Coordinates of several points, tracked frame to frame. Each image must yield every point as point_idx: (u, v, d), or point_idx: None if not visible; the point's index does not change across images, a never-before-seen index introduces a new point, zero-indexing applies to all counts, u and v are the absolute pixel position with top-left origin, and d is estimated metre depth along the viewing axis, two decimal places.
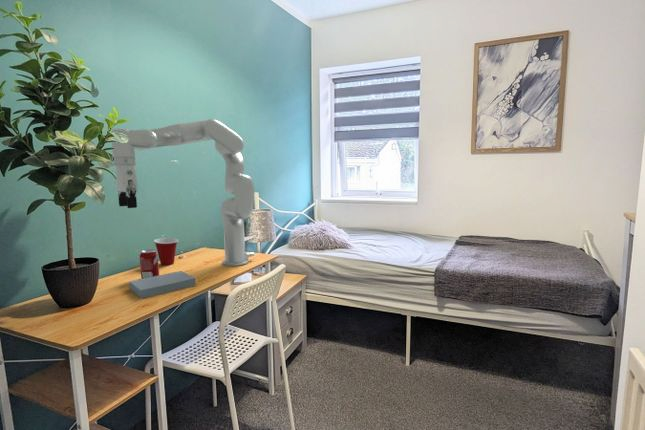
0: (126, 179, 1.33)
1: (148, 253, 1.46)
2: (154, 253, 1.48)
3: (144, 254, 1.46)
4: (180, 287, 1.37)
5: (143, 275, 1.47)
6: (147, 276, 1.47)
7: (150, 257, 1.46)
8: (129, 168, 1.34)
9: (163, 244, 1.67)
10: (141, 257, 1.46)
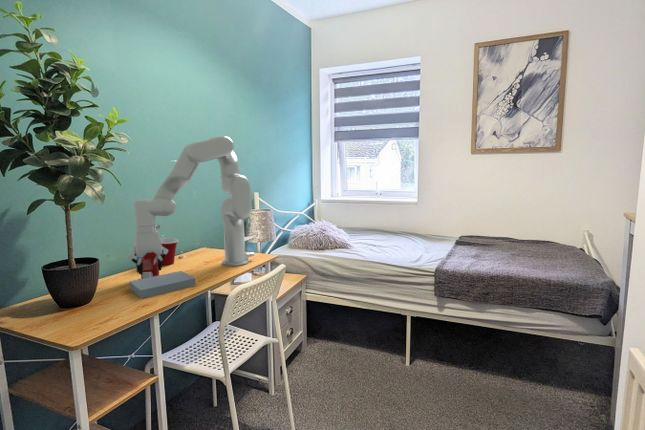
0: None
1: (148, 253, 1.46)
2: (154, 253, 1.48)
3: None
4: (180, 287, 1.37)
5: (143, 275, 1.47)
6: (147, 276, 1.47)
7: (150, 257, 1.46)
8: None
9: (163, 244, 1.67)
10: None
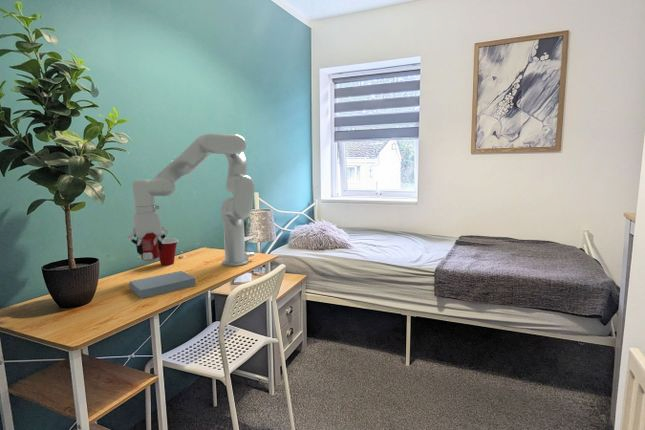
0: (160, 224, 1.50)
1: (148, 234, 1.45)
2: (154, 234, 1.47)
3: None
4: (180, 287, 1.37)
5: (143, 256, 1.46)
6: (147, 257, 1.46)
7: (150, 237, 1.45)
8: None
9: (163, 244, 1.67)
10: None
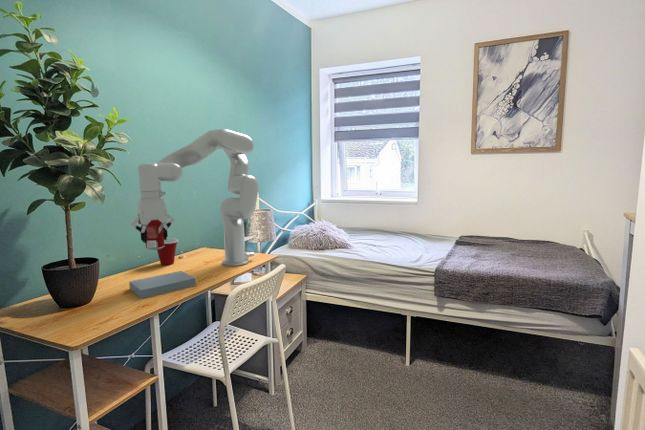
0: (166, 211, 1.42)
1: (153, 220, 1.38)
2: (159, 221, 1.40)
3: None
4: (180, 287, 1.37)
5: (147, 244, 1.38)
6: (152, 245, 1.38)
7: (155, 225, 1.38)
8: None
9: None
10: None
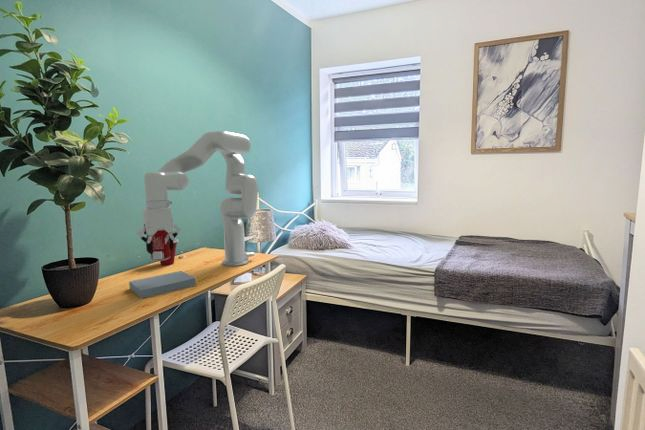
0: None
1: (159, 231, 1.34)
2: (165, 231, 1.36)
3: None
4: (180, 287, 1.37)
5: (153, 255, 1.34)
6: (158, 256, 1.34)
7: (161, 235, 1.34)
8: None
9: None
10: None
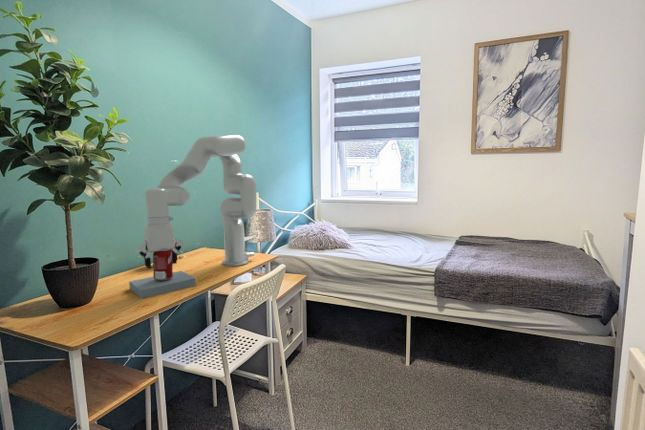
0: None
1: (163, 251, 1.35)
2: (169, 251, 1.37)
3: (158, 252, 1.35)
4: (180, 287, 1.37)
5: (156, 275, 1.36)
6: (160, 276, 1.35)
7: (165, 255, 1.35)
8: None
9: None
10: (155, 255, 1.35)
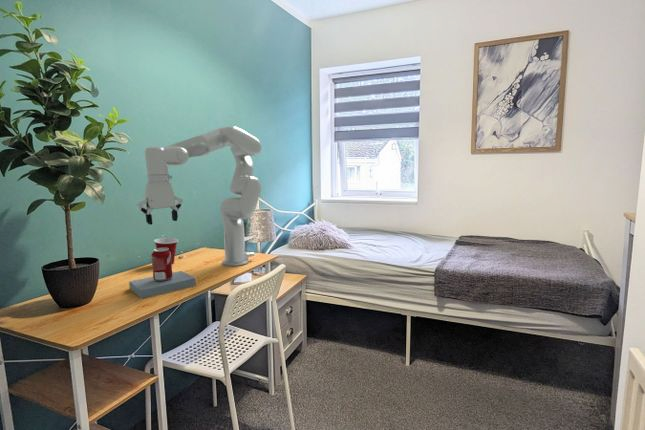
0: None
1: (161, 252, 1.35)
2: (167, 252, 1.37)
3: (157, 253, 1.35)
4: (180, 287, 1.37)
5: (156, 276, 1.35)
6: (160, 277, 1.35)
7: (163, 256, 1.35)
8: None
9: (163, 244, 1.67)
10: (153, 256, 1.35)
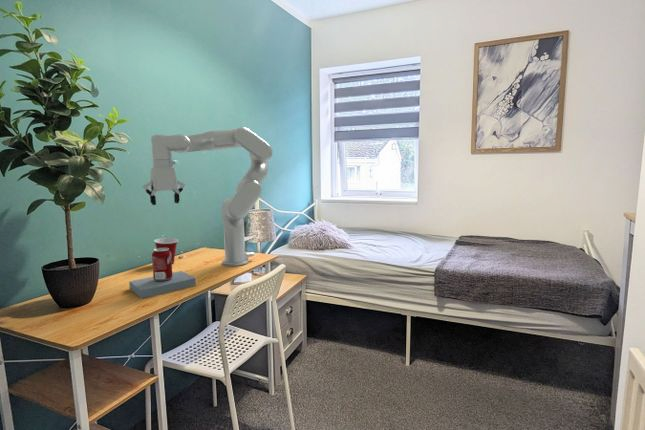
0: None
1: (161, 252, 1.35)
2: (168, 252, 1.37)
3: (157, 253, 1.35)
4: (180, 287, 1.37)
5: (156, 275, 1.35)
6: (160, 276, 1.35)
7: (163, 256, 1.35)
8: None
9: (163, 244, 1.67)
10: (154, 256, 1.35)
